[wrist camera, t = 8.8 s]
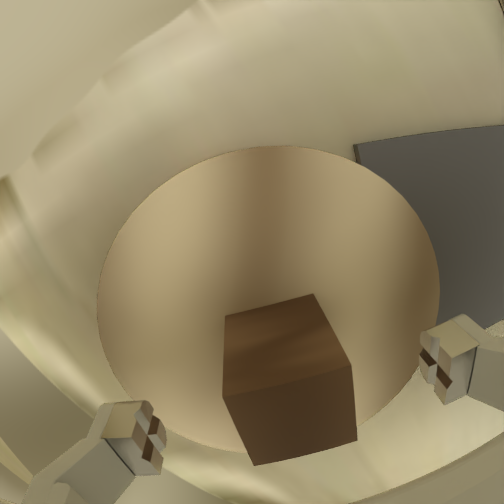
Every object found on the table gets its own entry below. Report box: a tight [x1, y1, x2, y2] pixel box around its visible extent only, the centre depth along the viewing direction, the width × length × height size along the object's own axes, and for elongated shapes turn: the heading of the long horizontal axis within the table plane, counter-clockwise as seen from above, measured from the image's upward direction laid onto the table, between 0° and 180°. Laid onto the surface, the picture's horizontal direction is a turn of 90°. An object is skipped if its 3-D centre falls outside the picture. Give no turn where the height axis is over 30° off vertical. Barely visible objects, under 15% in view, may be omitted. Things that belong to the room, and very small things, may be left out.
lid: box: [97, 146, 440, 466], centre depth 10 cm, size 13×13×5 cm
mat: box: [353, 125, 504, 329], centre depth 18 cm, size 15×15×1 cm
